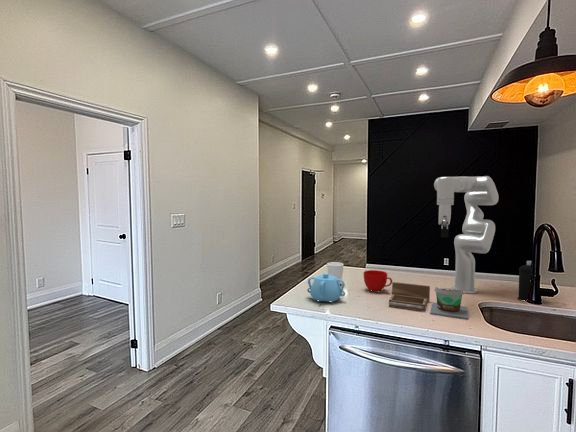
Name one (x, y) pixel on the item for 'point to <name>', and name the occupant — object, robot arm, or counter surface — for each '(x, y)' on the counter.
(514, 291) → the counter surface
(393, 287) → the box
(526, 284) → the black bottle
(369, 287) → the ceramic cup
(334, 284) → the decorative pot
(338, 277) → the cup
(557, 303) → the counter surface
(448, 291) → the food container
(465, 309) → the mat
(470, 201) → the robot arm
